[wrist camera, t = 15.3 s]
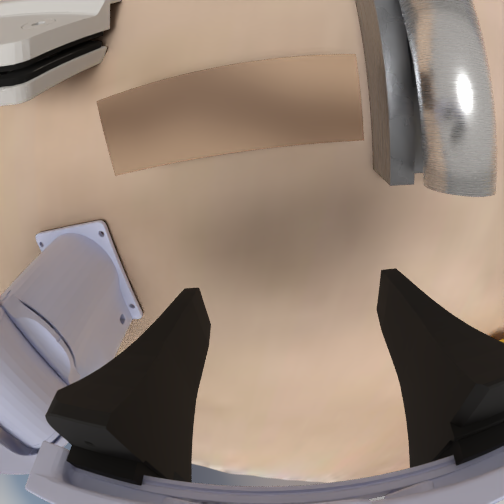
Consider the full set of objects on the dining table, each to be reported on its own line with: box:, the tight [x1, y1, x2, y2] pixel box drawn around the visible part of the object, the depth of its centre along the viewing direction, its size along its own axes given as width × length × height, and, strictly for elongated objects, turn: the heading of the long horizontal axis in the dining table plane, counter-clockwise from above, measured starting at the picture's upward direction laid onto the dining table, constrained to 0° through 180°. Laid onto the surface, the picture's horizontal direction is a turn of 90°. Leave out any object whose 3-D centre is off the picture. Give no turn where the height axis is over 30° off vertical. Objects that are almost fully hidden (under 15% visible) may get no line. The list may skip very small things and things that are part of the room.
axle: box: [399, 0, 497, 197], centre depth 10 cm, size 10×4×4 cm, turn 9°
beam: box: [97, 54, 364, 176], centre depth 15 cm, size 4×12×5 cm, turn 99°
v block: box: [356, 0, 423, 186], centre depth 13 cm, size 12×6×3 cm, turn 9°
